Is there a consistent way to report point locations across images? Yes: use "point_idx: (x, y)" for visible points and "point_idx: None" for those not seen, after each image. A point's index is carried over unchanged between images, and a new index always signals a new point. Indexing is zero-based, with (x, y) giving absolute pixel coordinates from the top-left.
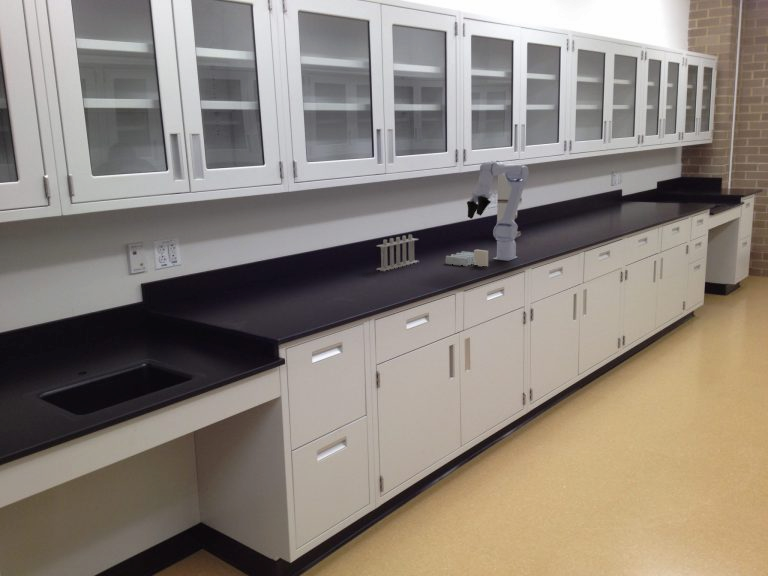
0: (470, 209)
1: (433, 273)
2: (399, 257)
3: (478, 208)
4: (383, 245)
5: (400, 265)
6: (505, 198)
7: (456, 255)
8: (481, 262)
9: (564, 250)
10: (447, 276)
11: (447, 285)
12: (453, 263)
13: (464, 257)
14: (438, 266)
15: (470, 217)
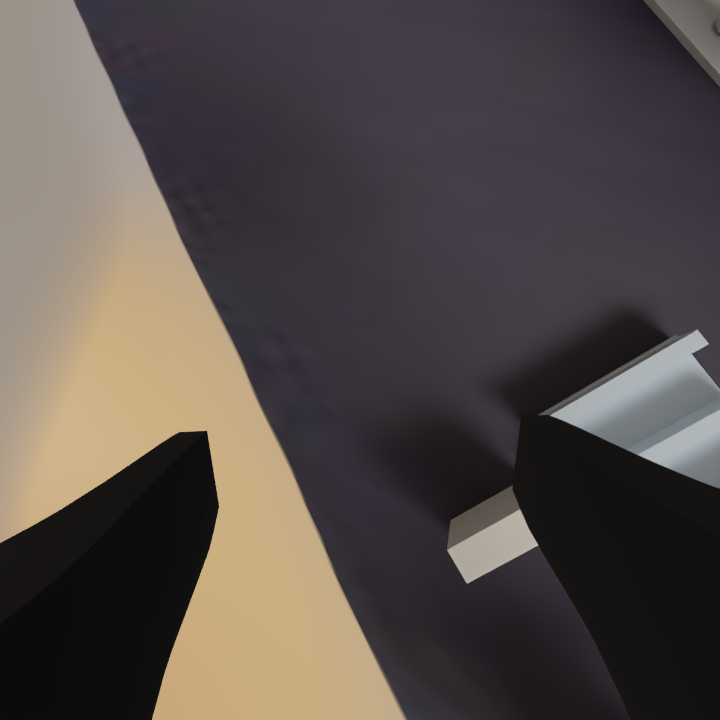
0: (627, 524)
1: (412, 171)
2: None
3: (113, 478)
4: None
5: (688, 34)
6: None
7: (699, 420)
8: (478, 510)
9: None
10: (315, 213)
11: (161, 153)
12: (614, 370)
13: None
14: (595, 262)
15: (516, 458)
